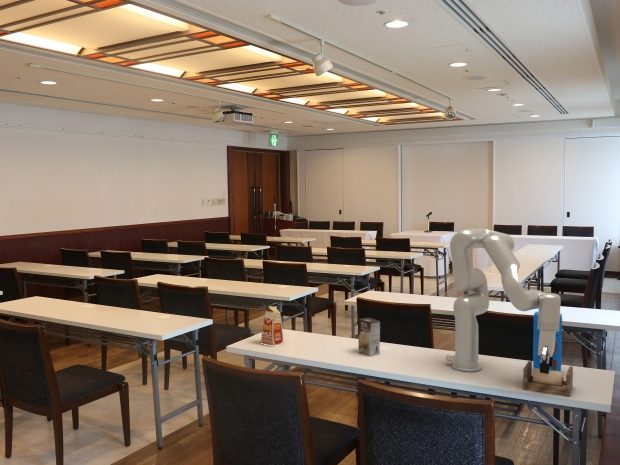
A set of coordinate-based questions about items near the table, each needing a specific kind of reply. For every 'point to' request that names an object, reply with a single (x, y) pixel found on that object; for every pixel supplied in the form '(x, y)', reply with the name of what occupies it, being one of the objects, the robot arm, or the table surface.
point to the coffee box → (369, 336)
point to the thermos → (557, 349)
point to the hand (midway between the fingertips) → (546, 369)
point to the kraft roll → (548, 378)
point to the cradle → (550, 389)
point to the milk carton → (272, 327)
